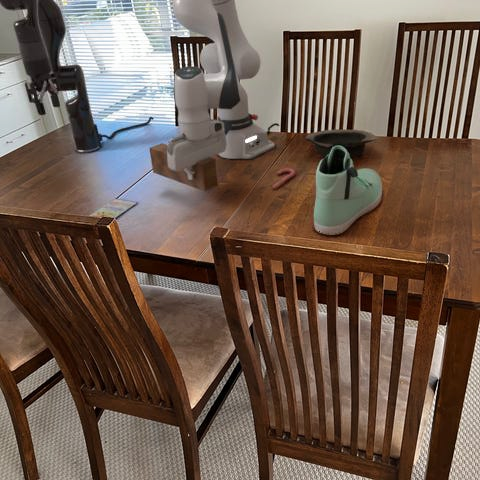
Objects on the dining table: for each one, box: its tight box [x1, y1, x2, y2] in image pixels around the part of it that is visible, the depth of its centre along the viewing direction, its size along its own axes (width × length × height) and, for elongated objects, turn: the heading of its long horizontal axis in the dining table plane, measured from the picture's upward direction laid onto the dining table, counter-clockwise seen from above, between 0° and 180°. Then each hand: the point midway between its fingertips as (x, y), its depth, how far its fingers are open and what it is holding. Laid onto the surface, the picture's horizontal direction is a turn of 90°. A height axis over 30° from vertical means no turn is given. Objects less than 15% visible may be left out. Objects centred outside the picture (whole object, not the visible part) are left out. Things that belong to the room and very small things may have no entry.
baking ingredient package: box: [88, 198, 137, 219], centre depth 147 cm, size 9×1×15 cm
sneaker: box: [313, 146, 383, 236], centre depth 133 cm, size 14×35×20 cm, turn 152°
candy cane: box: [272, 167, 296, 190], centre depth 158 cm, size 6×15×2 cm, turn 145°
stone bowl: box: [304, 128, 378, 159], centre depth 171 cm, size 25×25×9 cm
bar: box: [148, 142, 219, 192], centre depth 145 cm, size 24×5×8 cm, turn 48°
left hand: (49, 110), depth 152 cm, fingers open, 8 cm apart
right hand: (200, 175), depth 141 cm, fingers closed on bar, 5 cm apart
